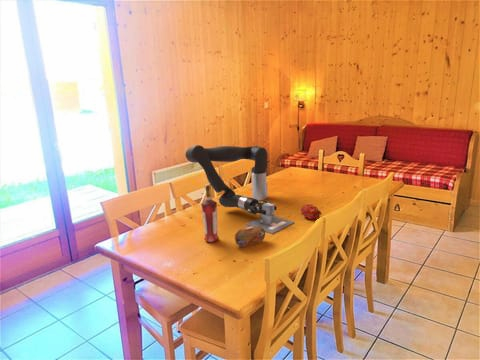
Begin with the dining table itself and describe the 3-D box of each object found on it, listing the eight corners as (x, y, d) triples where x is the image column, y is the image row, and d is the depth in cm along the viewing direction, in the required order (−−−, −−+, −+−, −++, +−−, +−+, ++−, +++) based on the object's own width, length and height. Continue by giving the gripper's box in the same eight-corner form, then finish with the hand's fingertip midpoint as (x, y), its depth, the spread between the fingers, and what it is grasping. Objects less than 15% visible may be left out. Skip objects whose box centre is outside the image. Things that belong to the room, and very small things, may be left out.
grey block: (267, 220, 197) (267, 202, 195) (274, 222, 194) (274, 204, 191) (262, 222, 194) (261, 204, 191) (268, 224, 191) (268, 206, 188)
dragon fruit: (299, 218, 204) (319, 225, 198) (295, 214, 197) (316, 221, 191) (305, 204, 206) (325, 210, 199) (301, 199, 198) (322, 206, 192)
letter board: (267, 215, 206) (267, 214, 206) (294, 223, 194) (294, 221, 194) (245, 225, 194) (245, 223, 194) (272, 234, 182) (272, 232, 181)
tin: (237, 249, 167) (236, 232, 165) (234, 246, 170) (233, 229, 168) (265, 241, 174) (265, 225, 172) (262, 239, 177) (261, 222, 174)
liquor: (205, 237, 181) (201, 182, 173) (219, 237, 181) (216, 182, 173) (203, 244, 174) (198, 187, 166) (218, 243, 174) (215, 186, 166)
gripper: (238, 201, 196) (261, 207, 185) (256, 194, 206) (279, 200, 195) (239, 214, 198) (262, 221, 187) (257, 206, 208) (279, 213, 197)
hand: (271, 210), depth 191 cm, fingers open, 8 cm apart
